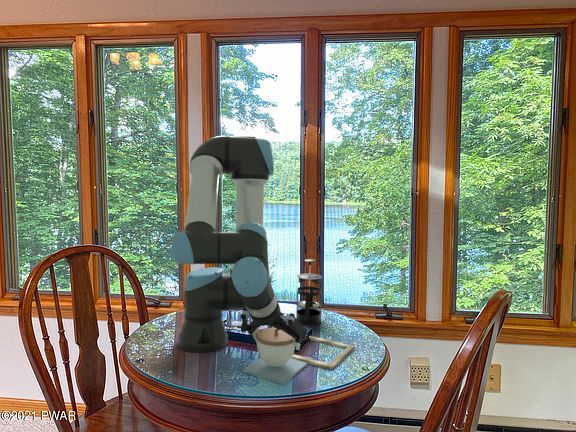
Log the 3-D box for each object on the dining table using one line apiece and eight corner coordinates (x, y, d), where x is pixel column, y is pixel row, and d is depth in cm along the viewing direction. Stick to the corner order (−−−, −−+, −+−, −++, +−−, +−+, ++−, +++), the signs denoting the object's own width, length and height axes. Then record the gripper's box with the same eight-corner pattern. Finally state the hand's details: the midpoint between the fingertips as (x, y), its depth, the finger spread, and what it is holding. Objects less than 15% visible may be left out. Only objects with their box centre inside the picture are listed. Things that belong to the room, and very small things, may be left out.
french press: (319, 327, 144) (321, 263, 142) (293, 325, 146) (295, 261, 144) (322, 316, 156) (324, 257, 154) (298, 314, 157) (299, 255, 155)
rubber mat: (242, 371, 110) (242, 369, 110) (268, 354, 121) (268, 352, 121) (283, 384, 103) (283, 382, 103) (307, 365, 114) (307, 362, 114)
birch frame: (279, 355, 120) (279, 352, 120) (305, 336, 135) (305, 334, 135) (331, 370, 112) (331, 367, 112) (354, 348, 126) (354, 346, 126)
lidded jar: (291, 372, 105) (292, 337, 105) (251, 368, 108) (252, 333, 107) (298, 355, 116) (299, 323, 115) (261, 351, 118) (262, 320, 117)
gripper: (213, 313, 99) (236, 350, 115) (306, 324, 93) (317, 361, 109) (222, 286, 103) (244, 325, 120) (311, 295, 97) (321, 335, 114)
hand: (279, 342), depth 114 cm, fingers closed on lidded jar, 11 cm apart
